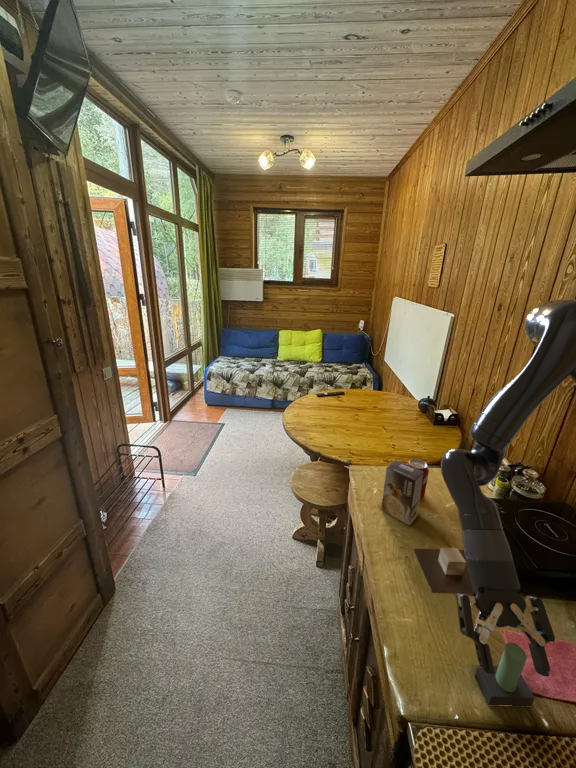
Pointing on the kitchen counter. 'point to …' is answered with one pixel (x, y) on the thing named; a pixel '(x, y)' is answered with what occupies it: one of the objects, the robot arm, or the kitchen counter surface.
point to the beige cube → (451, 561)
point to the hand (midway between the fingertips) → (515, 673)
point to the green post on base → (506, 680)
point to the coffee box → (402, 491)
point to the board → (442, 573)
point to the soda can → (423, 467)
